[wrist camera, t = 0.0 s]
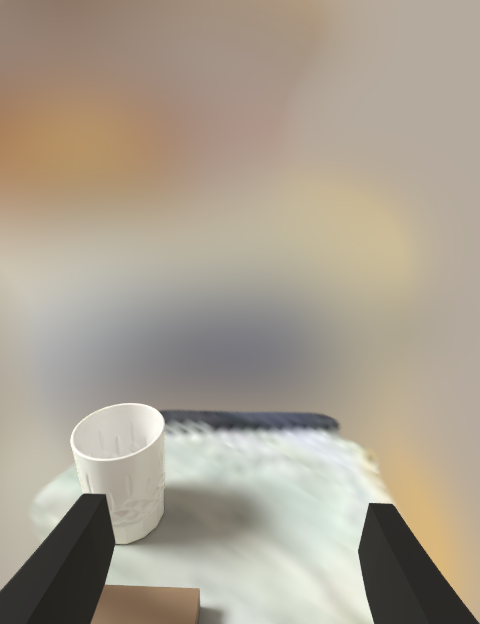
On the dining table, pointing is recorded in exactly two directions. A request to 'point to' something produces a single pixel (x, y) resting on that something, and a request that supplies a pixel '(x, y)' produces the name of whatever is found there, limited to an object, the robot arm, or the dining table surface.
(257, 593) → the dining table surface
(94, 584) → the robot arm
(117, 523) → the white cup
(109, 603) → the walnut shelf
